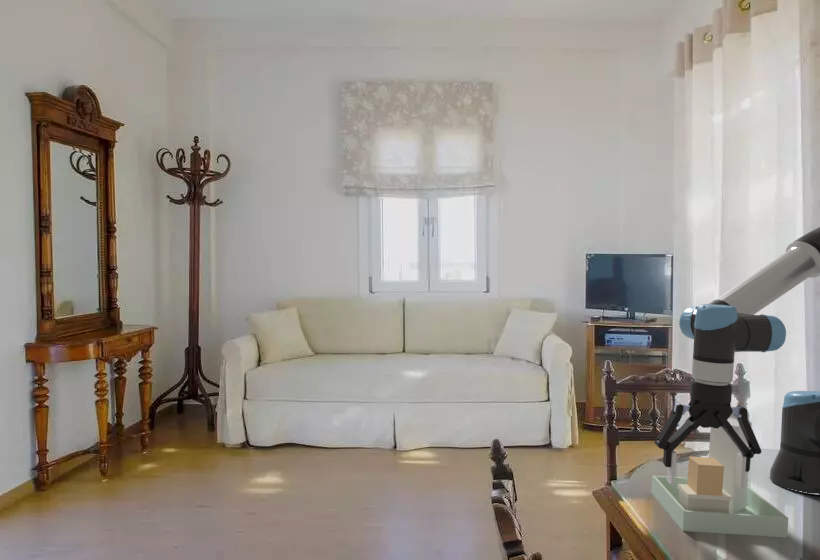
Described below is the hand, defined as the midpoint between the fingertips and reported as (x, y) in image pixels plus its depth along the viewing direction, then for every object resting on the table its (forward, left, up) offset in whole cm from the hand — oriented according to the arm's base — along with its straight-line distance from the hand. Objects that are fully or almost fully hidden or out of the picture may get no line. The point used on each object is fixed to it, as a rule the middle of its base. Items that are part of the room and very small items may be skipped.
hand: (704, 484), depth 131 cm
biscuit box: (0, 0, -1) cm, 1 cm away
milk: (-9, -9, -8) cm, 15 cm away
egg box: (0, 0, -8) cm, 8 cm away
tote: (-4, -5, -8) cm, 11 cm away
